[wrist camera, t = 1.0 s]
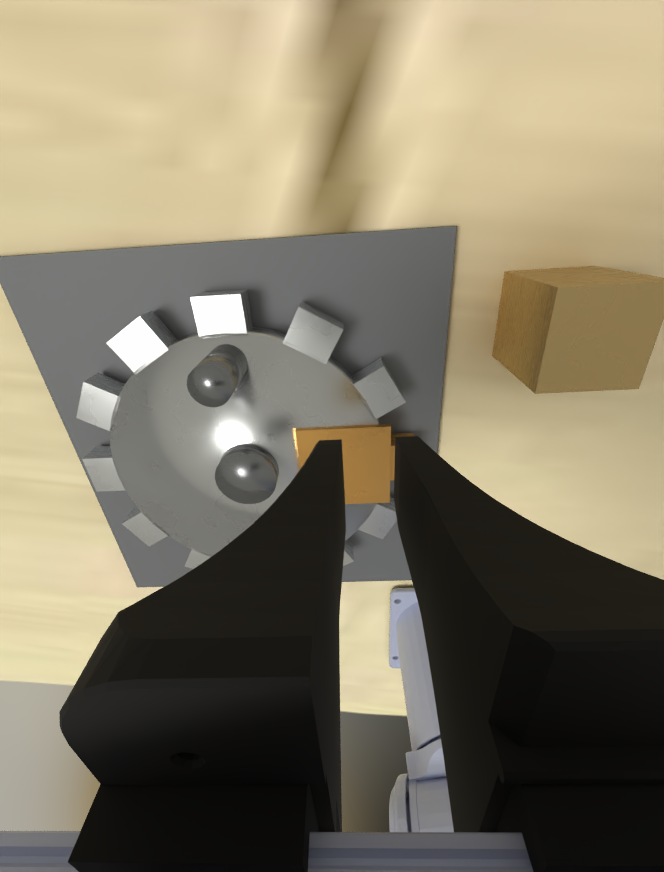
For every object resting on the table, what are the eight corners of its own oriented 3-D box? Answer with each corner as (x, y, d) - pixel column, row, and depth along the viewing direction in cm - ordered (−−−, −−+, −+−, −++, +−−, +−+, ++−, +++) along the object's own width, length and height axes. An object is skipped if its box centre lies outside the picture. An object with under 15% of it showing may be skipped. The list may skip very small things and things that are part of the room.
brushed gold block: (571, 351, 19) (638, 388, 15) (491, 355, 20) (535, 393, 15) (593, 265, 18) (677, 280, 13) (504, 271, 18) (557, 287, 13)
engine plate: (425, 575, 27) (426, 579, 27) (139, 582, 28) (137, 587, 28) (454, 225, 17) (456, 226, 16) (-5, 256, 18) (-12, 257, 17)
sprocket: (406, 563, 26) (417, 621, 22) (147, 570, 27) (115, 627, 23) (420, 278, 17) (442, 294, 13) (35, 302, 18) (-46, 323, 14)
